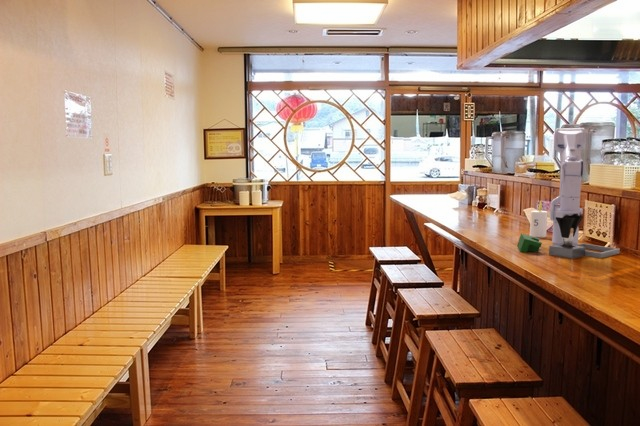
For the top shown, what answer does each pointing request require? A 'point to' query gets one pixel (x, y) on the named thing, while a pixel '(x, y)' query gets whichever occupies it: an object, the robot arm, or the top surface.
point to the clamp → (528, 243)
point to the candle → (538, 222)
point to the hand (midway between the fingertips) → (567, 237)
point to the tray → (607, 250)
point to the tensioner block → (567, 251)
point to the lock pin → (568, 240)
